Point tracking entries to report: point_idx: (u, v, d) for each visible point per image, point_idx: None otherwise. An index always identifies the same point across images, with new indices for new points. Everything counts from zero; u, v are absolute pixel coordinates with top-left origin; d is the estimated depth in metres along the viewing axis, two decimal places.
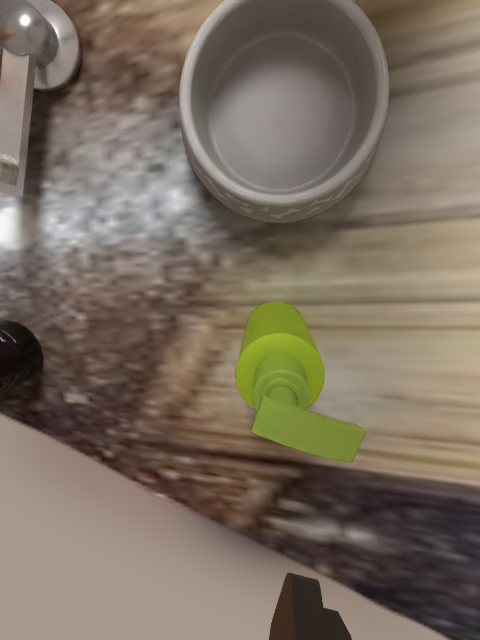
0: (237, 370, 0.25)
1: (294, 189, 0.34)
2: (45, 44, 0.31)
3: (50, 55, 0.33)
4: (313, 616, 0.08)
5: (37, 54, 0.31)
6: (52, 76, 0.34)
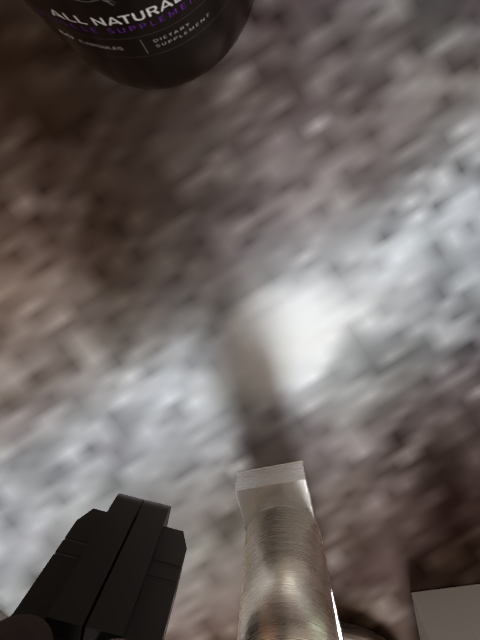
0: None
1: None
2: None
3: None
4: (150, 529, 0.09)
5: None
6: None
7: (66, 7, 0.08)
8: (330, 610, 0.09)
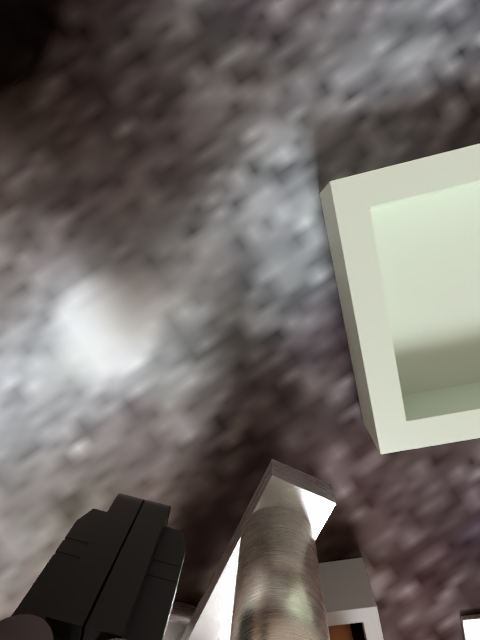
0: None
1: None
2: None
3: None
4: (150, 529, 0.09)
5: None
6: None
7: None
8: None
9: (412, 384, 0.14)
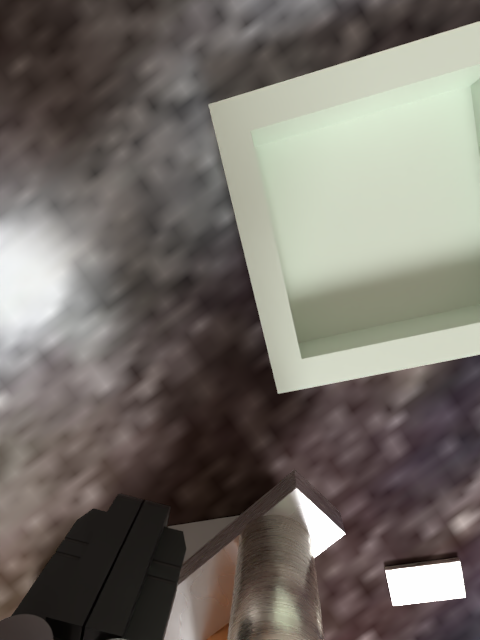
0: None
1: None
2: None
3: None
4: (150, 529, 0.09)
5: None
6: None
7: None
8: None
9: (321, 327, 0.14)
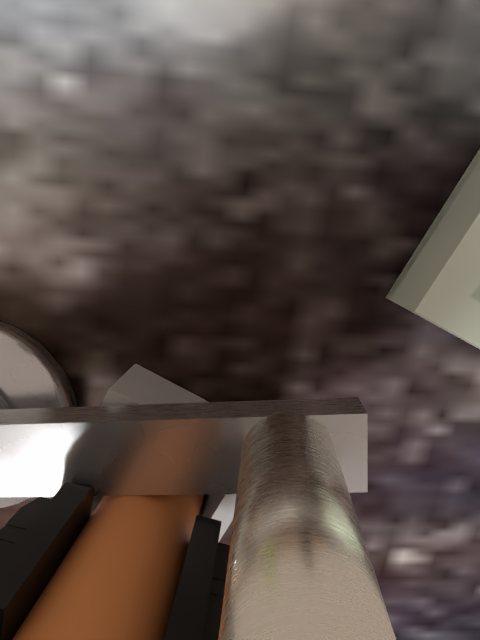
0: None
1: None
2: None
3: None
4: (207, 546, 0.09)
5: None
6: None
7: None
8: None
9: None
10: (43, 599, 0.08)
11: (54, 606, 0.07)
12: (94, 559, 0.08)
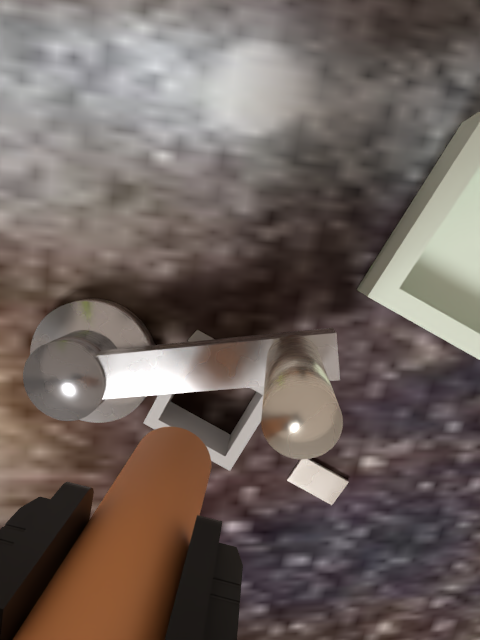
0: None
1: None
2: (75, 338, 0.19)
3: (93, 335, 0.20)
4: (207, 546, 0.09)
5: (93, 347, 0.19)
6: (79, 314, 0.20)
7: None
8: None
9: (407, 286, 0.19)
10: (57, 577, 0.08)
11: (68, 582, 0.08)
12: (104, 541, 0.09)
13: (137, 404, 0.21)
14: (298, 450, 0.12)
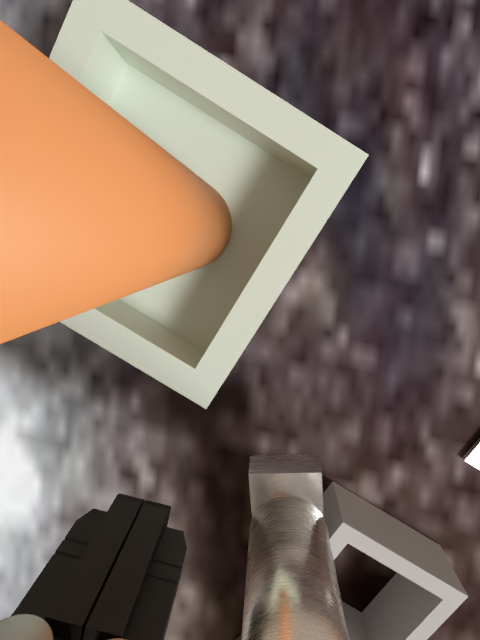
0: None
1: None
2: None
3: None
4: (150, 529, 0.09)
5: None
6: None
7: None
8: (340, 604, 0.09)
9: (210, 324, 0.14)
10: None
11: None
12: None
13: None
14: None
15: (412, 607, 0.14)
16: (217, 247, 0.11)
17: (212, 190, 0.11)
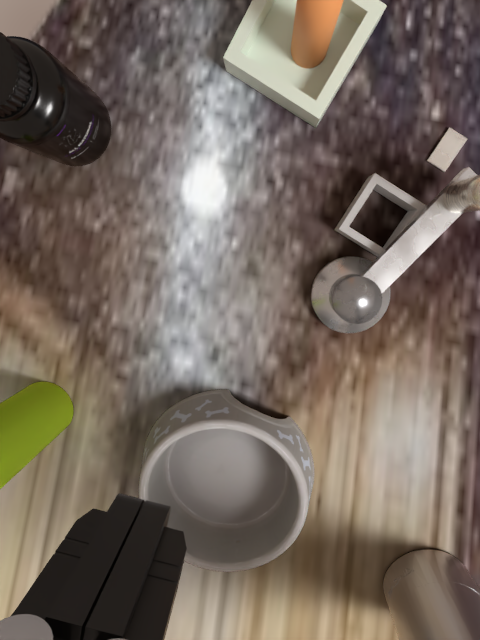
0: None
1: (166, 464, 0.40)
2: (343, 279, 0.32)
3: (346, 276, 0.33)
4: (150, 529, 0.09)
5: (356, 275, 0.32)
6: (319, 298, 0.35)
7: (72, 147, 0.30)
8: None
9: (315, 95, 0.32)
10: (300, 11, 0.25)
11: (298, 0, 0.25)
12: (296, 4, 0.26)
13: None
14: None
15: (404, 224, 0.32)
16: (329, 44, 0.29)
17: None
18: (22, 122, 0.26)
